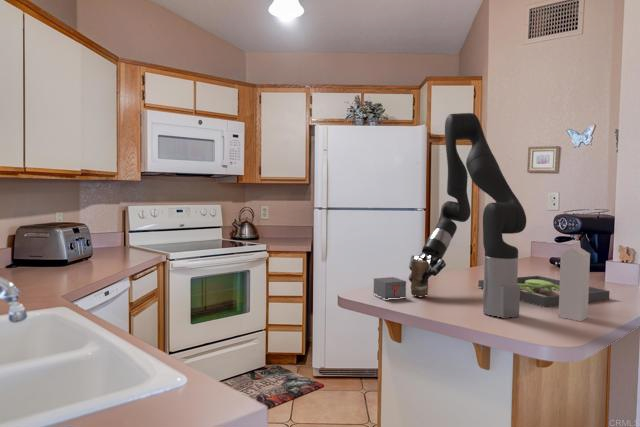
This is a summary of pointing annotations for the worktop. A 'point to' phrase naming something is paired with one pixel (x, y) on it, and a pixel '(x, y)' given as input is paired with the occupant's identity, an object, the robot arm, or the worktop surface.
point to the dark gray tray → (594, 295)
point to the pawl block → (390, 287)
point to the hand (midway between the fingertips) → (416, 281)
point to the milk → (574, 283)
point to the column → (418, 278)
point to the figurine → (538, 285)
